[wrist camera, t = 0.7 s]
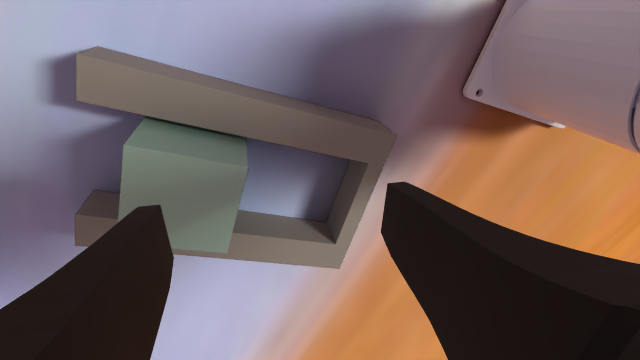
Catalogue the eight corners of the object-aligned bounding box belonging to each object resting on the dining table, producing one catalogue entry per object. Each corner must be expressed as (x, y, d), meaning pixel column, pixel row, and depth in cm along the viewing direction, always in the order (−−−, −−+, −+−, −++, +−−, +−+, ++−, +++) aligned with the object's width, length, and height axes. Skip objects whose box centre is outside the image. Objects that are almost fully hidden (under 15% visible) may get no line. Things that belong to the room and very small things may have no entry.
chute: (380, 121, 21) (396, 135, 19) (330, 245, 25) (339, 268, 23) (98, 46, 15) (76, 53, 13) (92, 218, 19) (75, 245, 17)
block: (245, 130, 19) (248, 167, 15) (228, 202, 21) (227, 253, 17) (150, 109, 17) (123, 144, 13) (142, 189, 19) (116, 243, 15)
